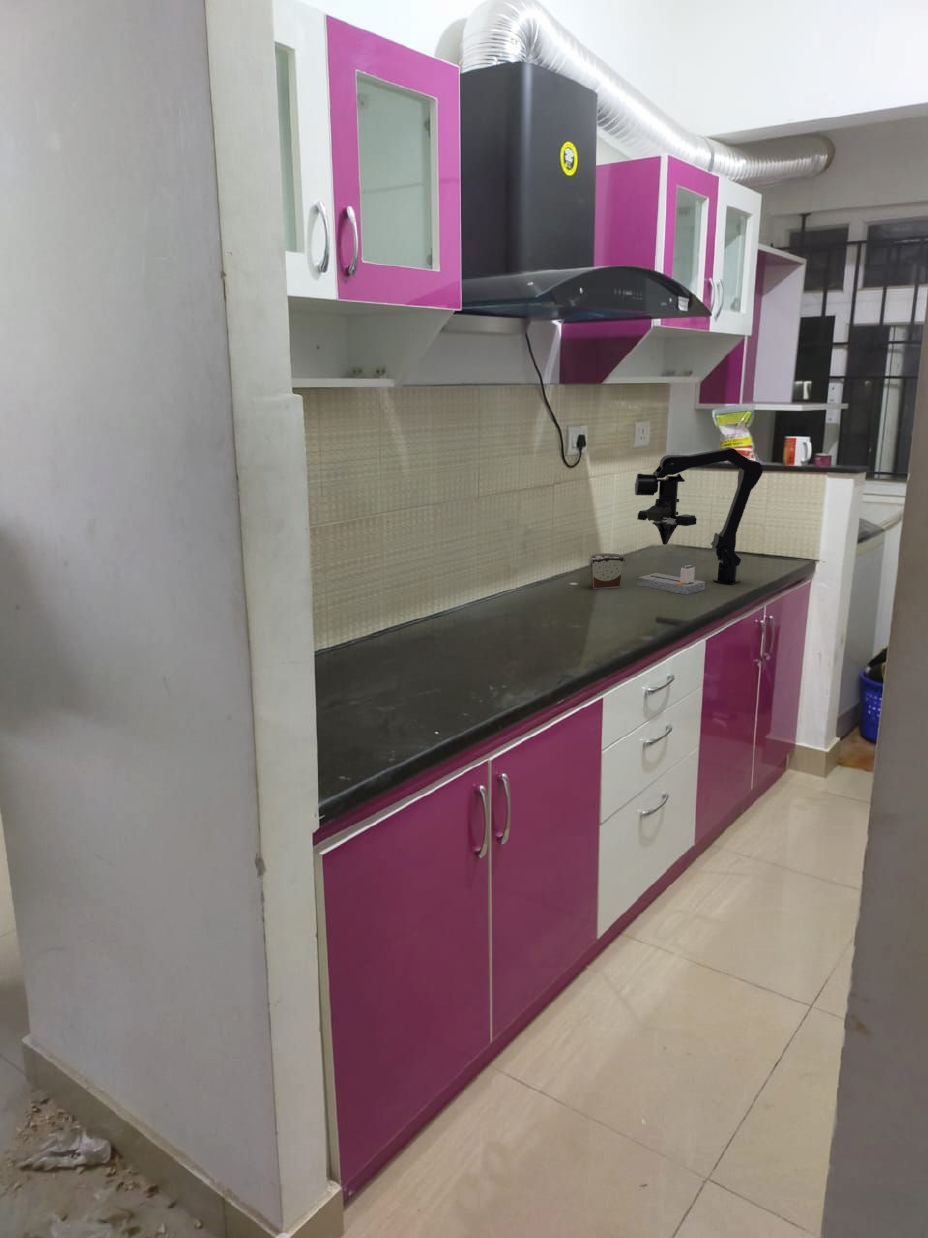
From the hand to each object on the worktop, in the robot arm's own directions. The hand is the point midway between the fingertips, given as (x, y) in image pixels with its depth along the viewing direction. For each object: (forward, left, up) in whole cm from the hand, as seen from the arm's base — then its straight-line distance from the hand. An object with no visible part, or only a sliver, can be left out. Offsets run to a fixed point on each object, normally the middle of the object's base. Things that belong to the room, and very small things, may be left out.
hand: (664, 544), depth 294 cm
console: (+6, +7, -12) cm, 15 cm away
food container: (+20, -9, -12) cm, 25 cm away
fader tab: (+6, +13, -9) cm, 17 cm away
